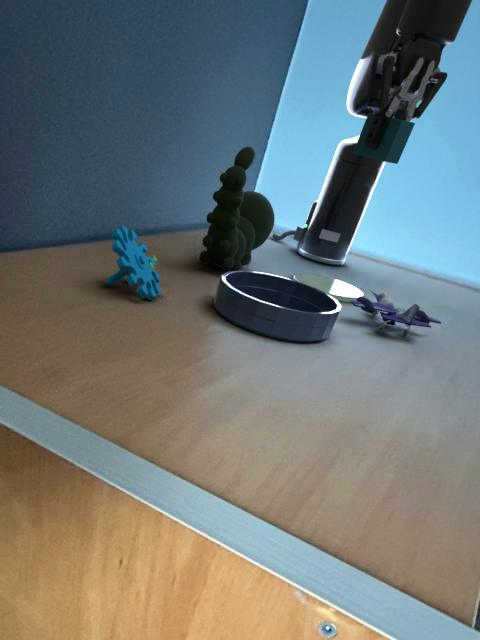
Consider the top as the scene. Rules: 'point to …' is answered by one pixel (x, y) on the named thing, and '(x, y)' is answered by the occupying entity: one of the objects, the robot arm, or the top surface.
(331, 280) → the plate
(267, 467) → the top surface
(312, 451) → the top surface
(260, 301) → the bowl
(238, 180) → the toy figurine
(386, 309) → the toy airplane
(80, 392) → the top surface
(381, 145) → the teal rectangular block
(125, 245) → the gear
